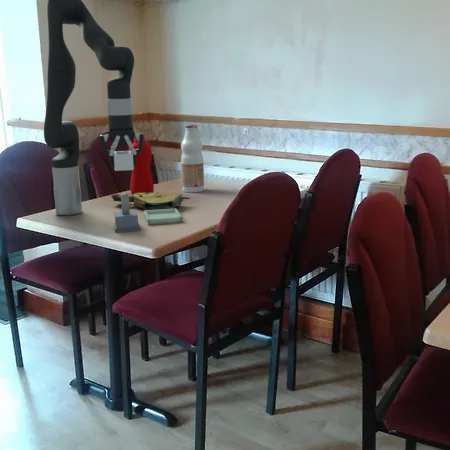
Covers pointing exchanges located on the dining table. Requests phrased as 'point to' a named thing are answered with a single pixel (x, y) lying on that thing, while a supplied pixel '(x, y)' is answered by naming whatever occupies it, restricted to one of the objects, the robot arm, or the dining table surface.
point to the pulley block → (153, 200)
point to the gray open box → (123, 160)
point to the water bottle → (142, 170)
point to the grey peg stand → (126, 217)
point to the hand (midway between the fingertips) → (123, 166)
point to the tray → (162, 216)
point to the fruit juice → (192, 161)
